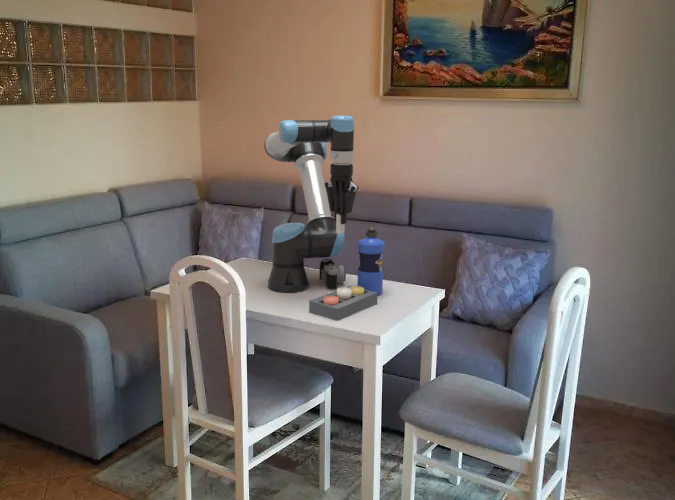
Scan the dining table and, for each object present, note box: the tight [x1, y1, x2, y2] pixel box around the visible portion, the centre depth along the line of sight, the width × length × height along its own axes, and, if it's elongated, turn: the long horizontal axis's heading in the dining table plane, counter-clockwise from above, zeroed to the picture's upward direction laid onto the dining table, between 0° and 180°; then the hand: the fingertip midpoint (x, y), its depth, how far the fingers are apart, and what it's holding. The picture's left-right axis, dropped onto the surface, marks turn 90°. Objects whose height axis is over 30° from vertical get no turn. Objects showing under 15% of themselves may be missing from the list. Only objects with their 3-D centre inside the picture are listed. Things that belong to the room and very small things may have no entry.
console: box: [308, 285, 379, 322], centre depth 226 cm, size 12×22×4 cm, turn 141°
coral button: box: [323, 296, 339, 306], centre depth 220 cm, size 5×5×3 cm
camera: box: [319, 257, 347, 292], centre depth 251 cm, size 16×9×10 cm, turn 14°
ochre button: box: [350, 285, 364, 296], centre depth 231 cm, size 5×5×3 cm
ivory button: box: [336, 286, 352, 301], centre depth 225 cm, size 5×5×3 cm
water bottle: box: [356, 224, 385, 297], centre depth 240 cm, size 9×9×25 cm
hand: (340, 232), depth 228 cm, fingers closed
